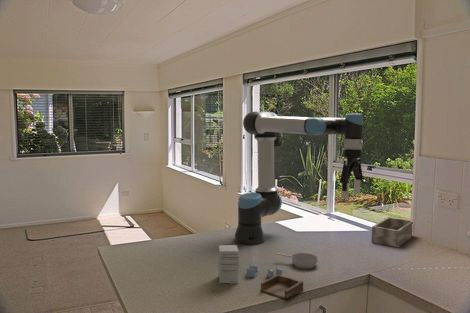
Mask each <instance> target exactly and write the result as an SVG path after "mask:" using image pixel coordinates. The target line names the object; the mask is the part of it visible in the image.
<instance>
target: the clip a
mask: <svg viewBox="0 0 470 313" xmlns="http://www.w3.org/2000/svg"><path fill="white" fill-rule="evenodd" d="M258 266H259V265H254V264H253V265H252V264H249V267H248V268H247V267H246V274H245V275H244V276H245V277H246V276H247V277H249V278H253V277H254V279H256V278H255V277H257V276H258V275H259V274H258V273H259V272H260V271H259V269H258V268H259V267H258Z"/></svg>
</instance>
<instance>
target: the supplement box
mask: <svg viewBox="0 0 470 313" xmlns="http://www.w3.org/2000/svg"><path fill="white" fill-rule="evenodd" d="M239 252H240V251H239V247H238V245H236V244H231V245H229V244H228V245H225V244H222V245H218V279H219V280H218V282H219V284H220V285H221V283H230V284H239V283H240V279H239V277H240V276H239V274H240V272H239V271H240V270H239V268H240V264H239V262H240V260H239V258H240V256H239V254H240V253H239Z"/></svg>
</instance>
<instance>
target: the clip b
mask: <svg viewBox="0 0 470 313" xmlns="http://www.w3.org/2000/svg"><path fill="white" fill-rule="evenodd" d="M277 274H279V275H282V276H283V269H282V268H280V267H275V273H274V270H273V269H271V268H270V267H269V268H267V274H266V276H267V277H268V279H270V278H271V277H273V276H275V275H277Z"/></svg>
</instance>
